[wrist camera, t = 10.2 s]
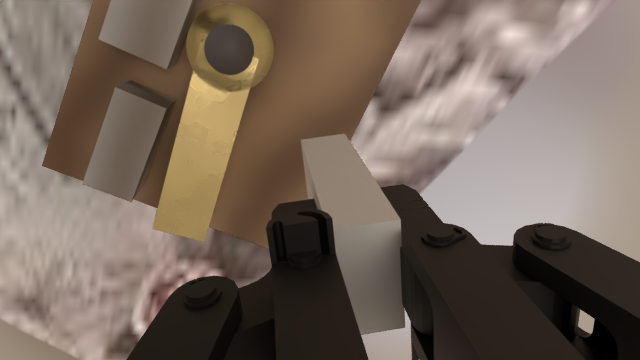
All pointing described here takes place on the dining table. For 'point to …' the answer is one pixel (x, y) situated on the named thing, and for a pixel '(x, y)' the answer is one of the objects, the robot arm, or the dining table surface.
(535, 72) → the dining table surface
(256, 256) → the dining table surface
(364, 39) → the board
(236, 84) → the latch bar
